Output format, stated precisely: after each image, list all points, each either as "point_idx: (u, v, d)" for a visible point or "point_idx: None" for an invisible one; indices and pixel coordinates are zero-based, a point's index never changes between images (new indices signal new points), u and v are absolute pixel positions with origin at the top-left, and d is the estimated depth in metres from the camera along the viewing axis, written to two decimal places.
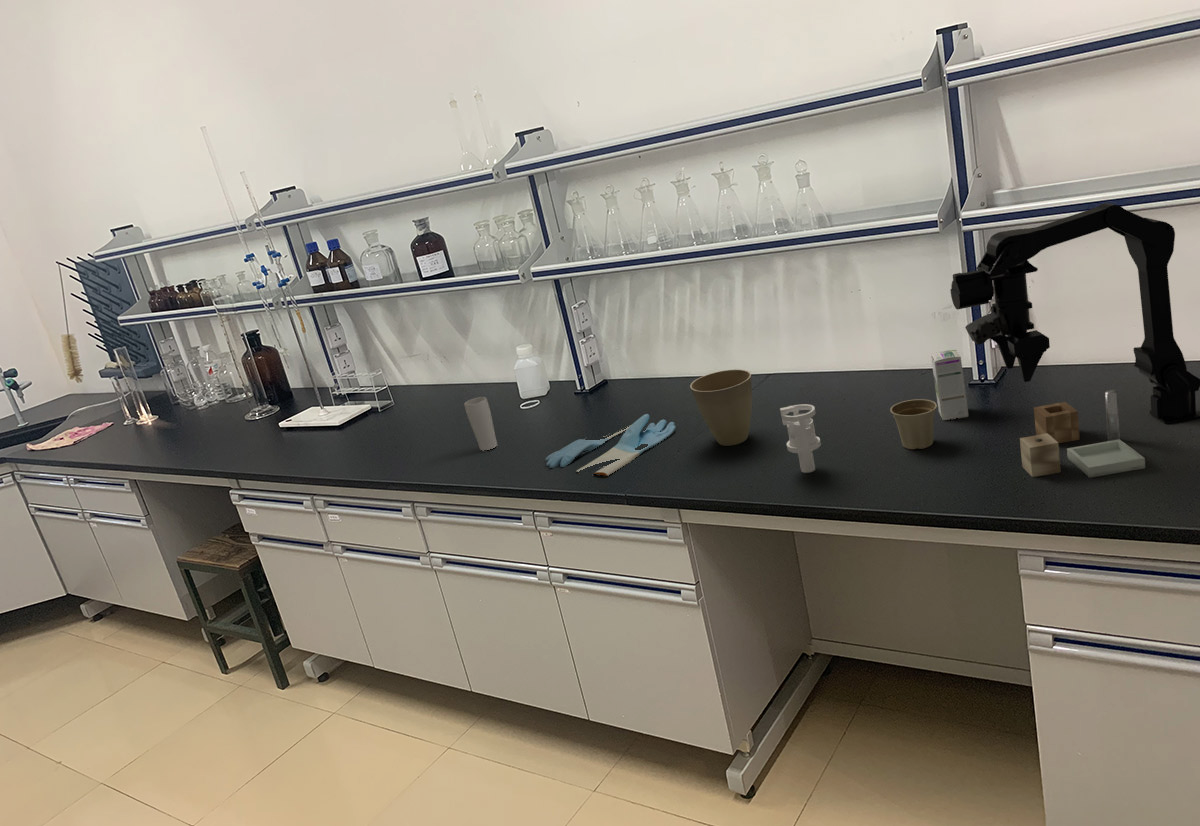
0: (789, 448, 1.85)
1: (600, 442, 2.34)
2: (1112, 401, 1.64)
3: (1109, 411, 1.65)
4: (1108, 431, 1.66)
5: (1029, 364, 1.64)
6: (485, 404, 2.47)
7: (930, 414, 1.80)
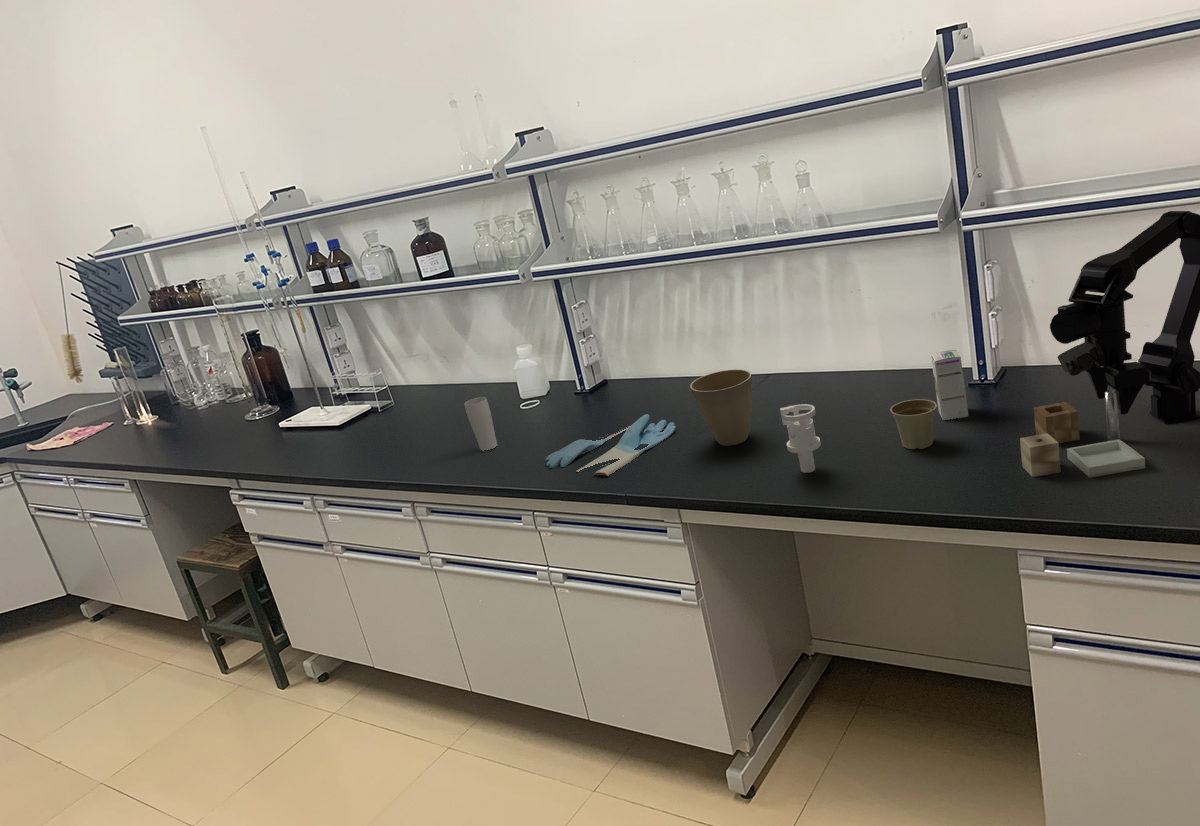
0: (789, 448, 1.85)
1: (600, 442, 2.34)
2: (1112, 401, 1.64)
3: (1109, 411, 1.65)
4: (1108, 431, 1.66)
5: (1127, 397, 1.58)
6: (485, 404, 2.47)
7: (930, 414, 1.80)
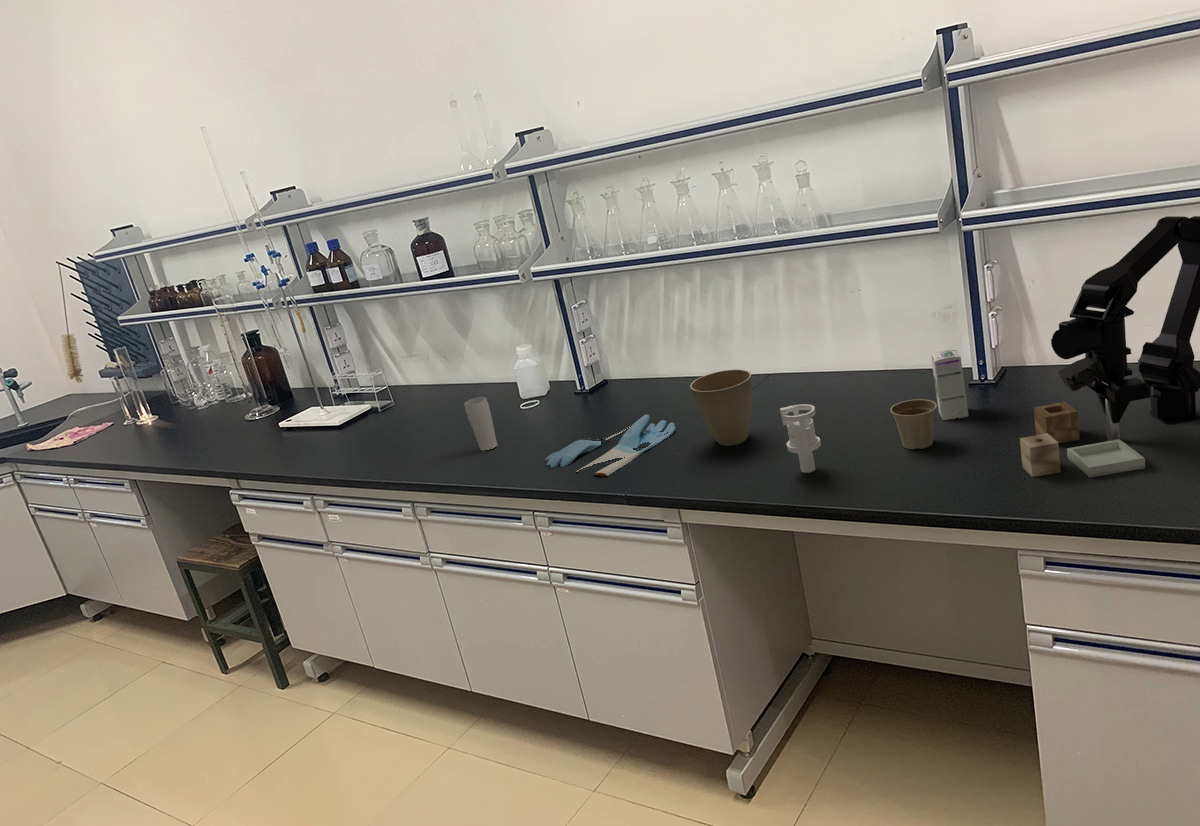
0: (789, 448, 1.85)
1: (600, 442, 2.34)
2: None
3: None
4: (1108, 431, 1.66)
5: (1118, 406, 1.63)
6: (485, 404, 2.47)
7: (930, 414, 1.80)
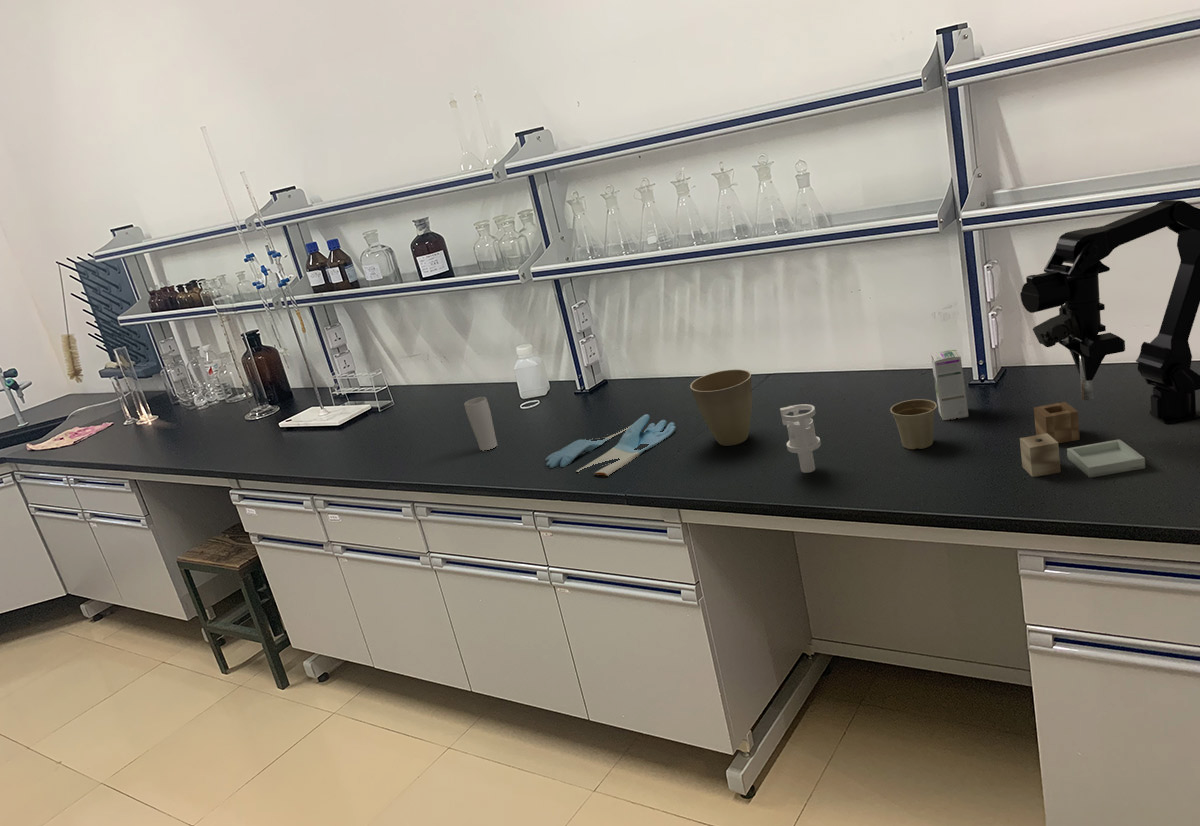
0: (789, 448, 1.85)
1: (600, 442, 2.34)
2: None
3: None
4: (1082, 389, 1.66)
5: (1092, 363, 1.62)
6: (485, 404, 2.47)
7: (930, 414, 1.80)
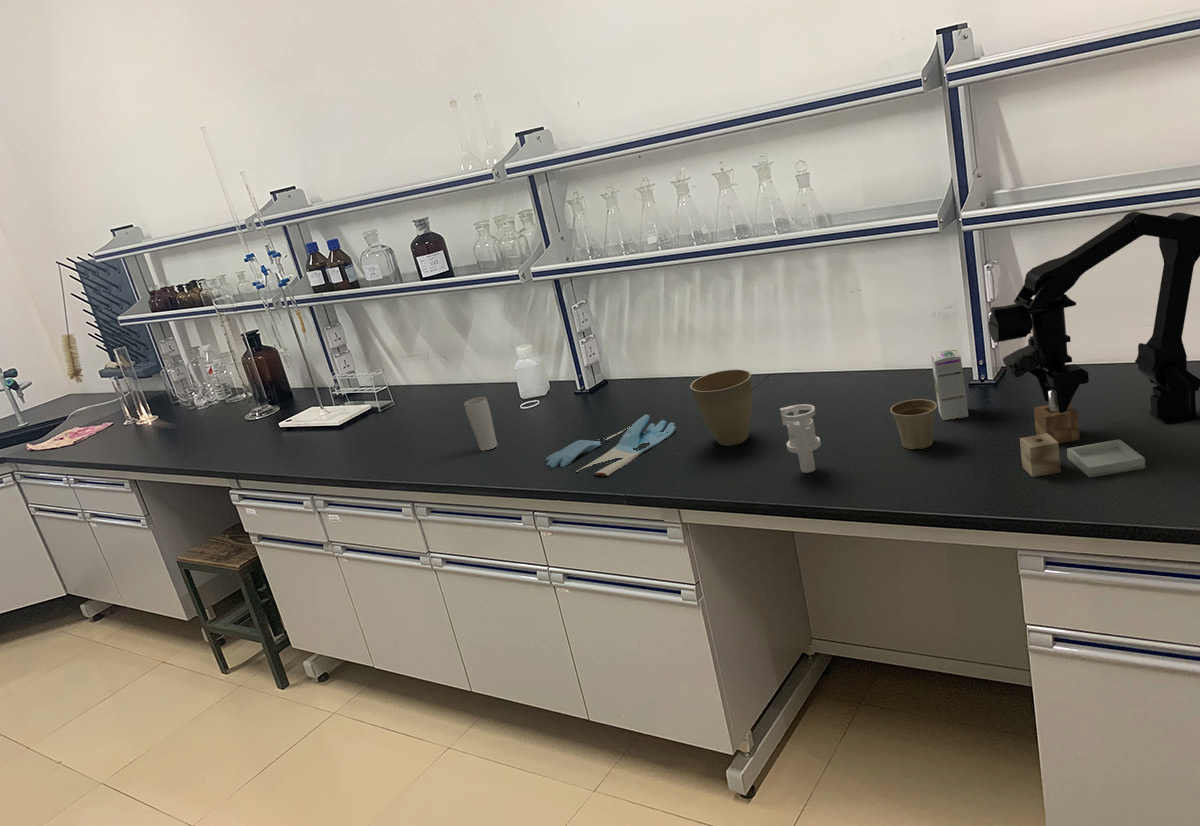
0: (789, 448, 1.85)
1: None
2: (1055, 399, 1.71)
3: (1052, 409, 1.72)
4: None
5: (1064, 396, 1.67)
6: (485, 404, 2.47)
7: (930, 414, 1.80)
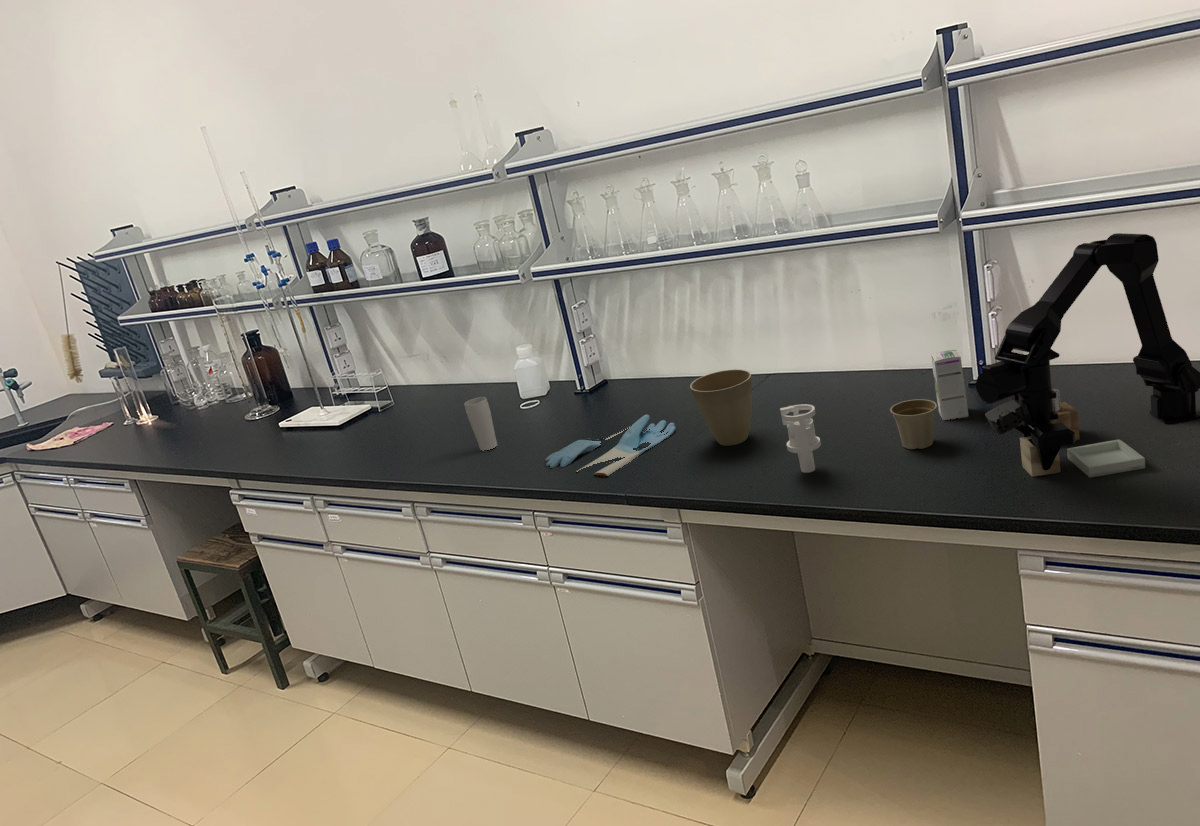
0: (789, 448, 1.85)
1: None
2: (1055, 399, 1.71)
3: None
4: None
5: (1048, 453, 1.58)
6: (485, 404, 2.47)
7: (930, 414, 1.80)
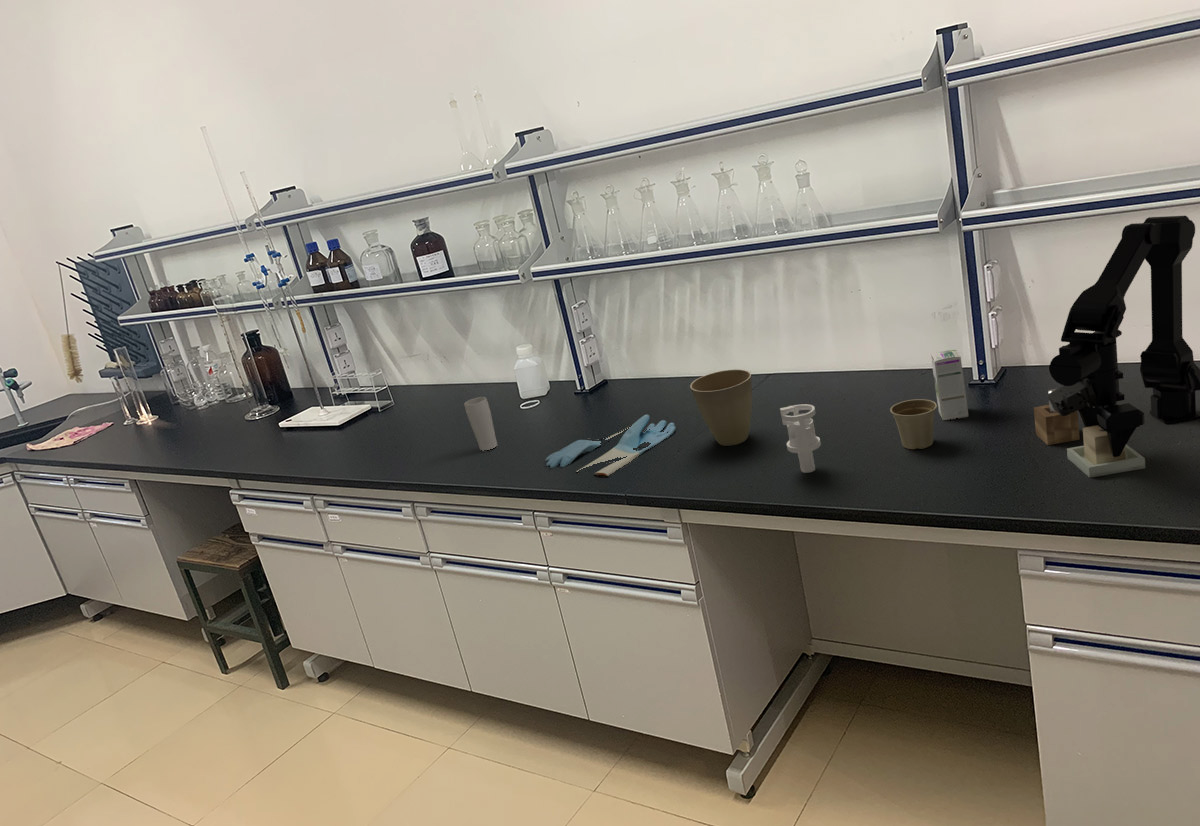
0: (789, 448, 1.85)
1: None
2: None
3: (1052, 409, 1.72)
4: None
5: (1119, 439, 1.52)
6: (485, 404, 2.47)
7: (930, 414, 1.80)
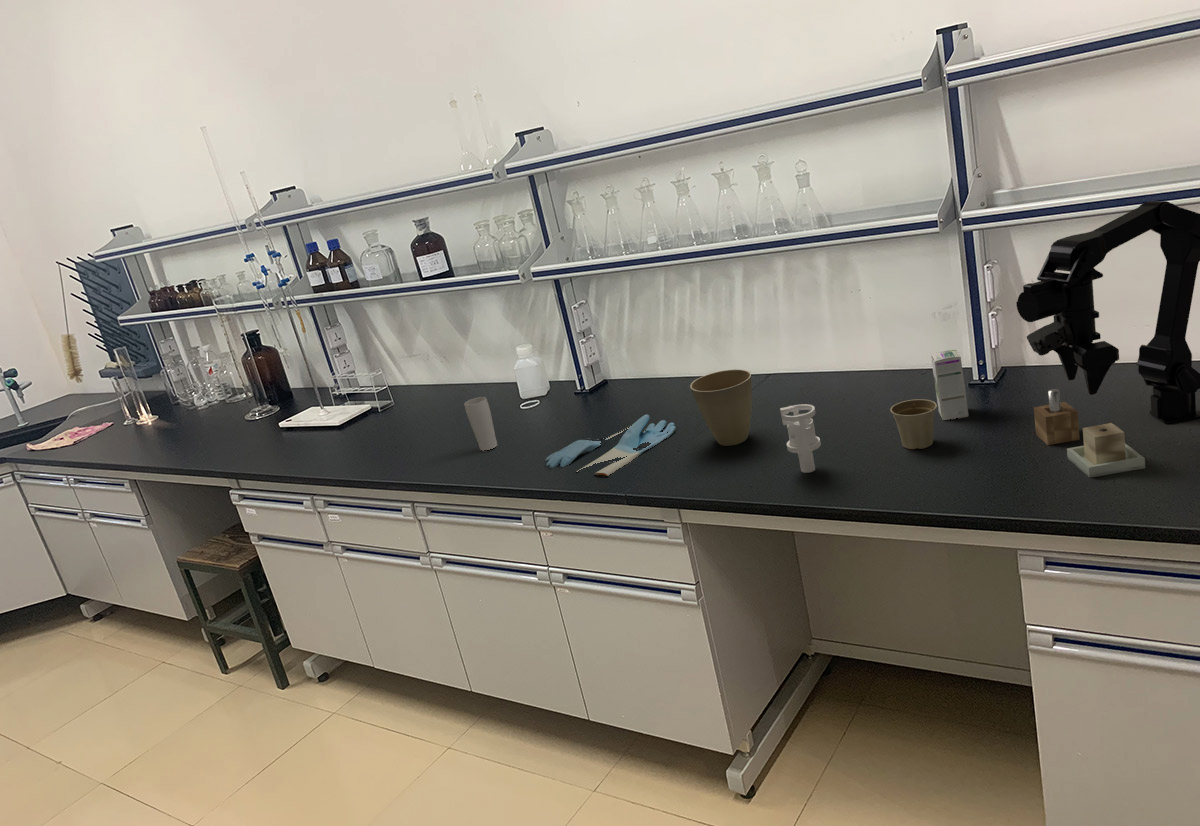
0: (789, 448, 1.85)
1: None
2: (1055, 399, 1.71)
3: (1052, 409, 1.72)
4: None
5: (1095, 377, 1.57)
6: (485, 404, 2.47)
7: (930, 414, 1.80)
